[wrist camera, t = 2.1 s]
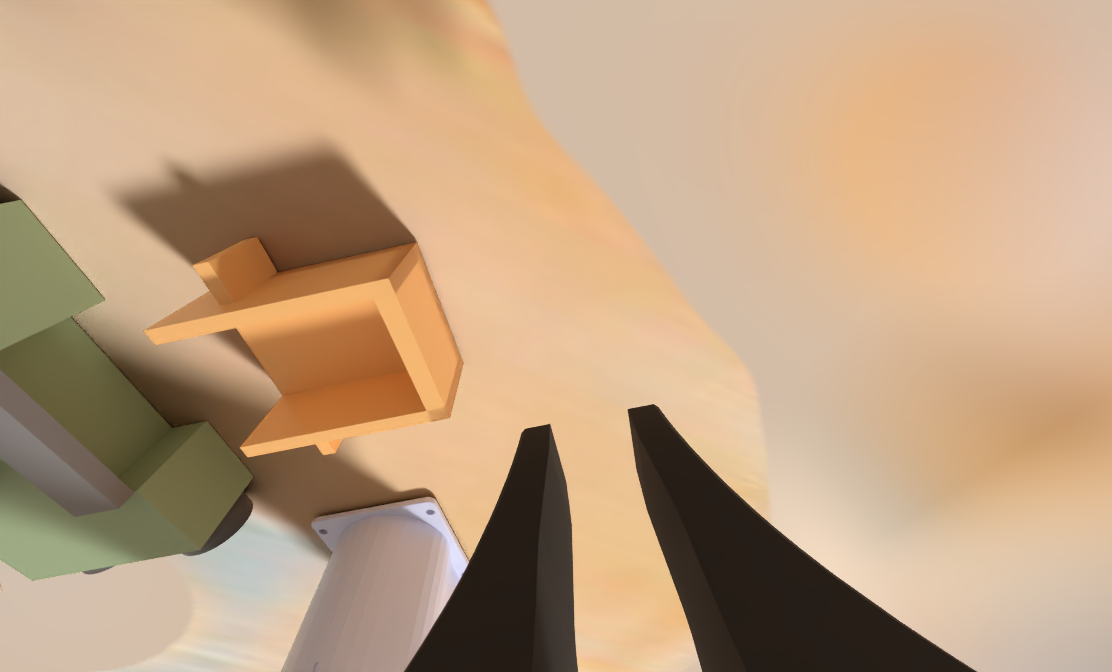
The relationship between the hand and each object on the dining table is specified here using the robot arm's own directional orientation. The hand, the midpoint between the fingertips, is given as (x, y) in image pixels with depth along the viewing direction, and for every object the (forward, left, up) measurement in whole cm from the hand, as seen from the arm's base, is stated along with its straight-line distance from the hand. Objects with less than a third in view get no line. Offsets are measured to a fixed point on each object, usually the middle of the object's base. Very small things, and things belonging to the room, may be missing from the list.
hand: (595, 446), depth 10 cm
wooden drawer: (0, +10, -10) cm, 15 cm away
